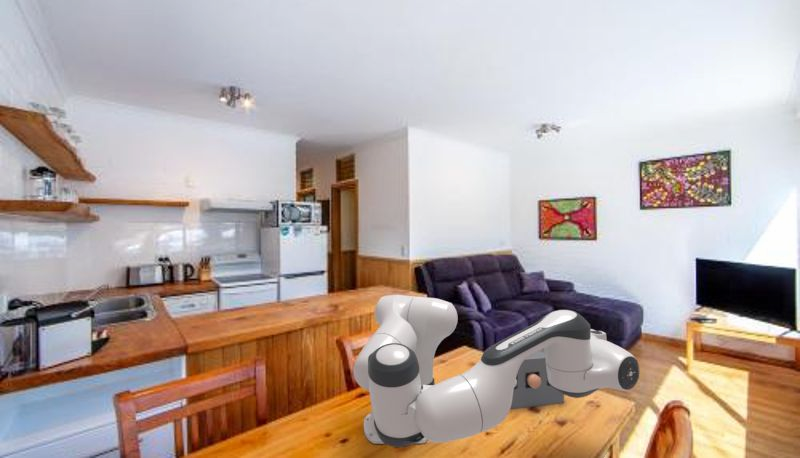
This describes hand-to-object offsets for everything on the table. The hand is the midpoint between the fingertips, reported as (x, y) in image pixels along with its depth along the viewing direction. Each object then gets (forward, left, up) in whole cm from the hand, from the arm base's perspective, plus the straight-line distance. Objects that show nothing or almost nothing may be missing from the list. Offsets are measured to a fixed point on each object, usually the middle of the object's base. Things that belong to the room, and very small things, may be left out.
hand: (543, 330), depth 102 cm
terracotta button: (+5, +12, -23) cm, 27 cm away
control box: (+5, +17, -30) cm, 35 cm away
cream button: (-3, +14, -23) cm, 27 cm away
